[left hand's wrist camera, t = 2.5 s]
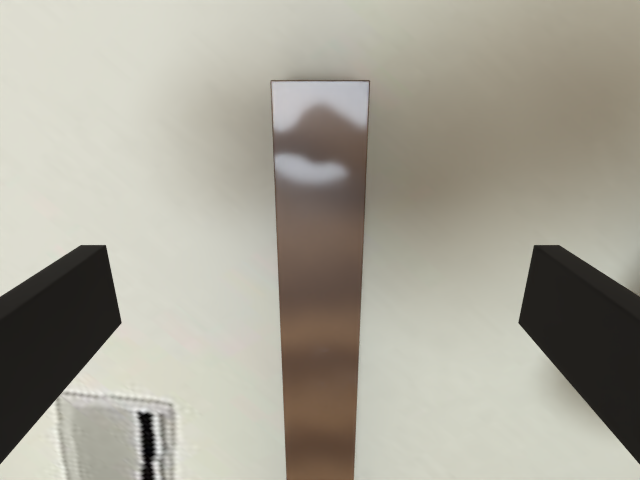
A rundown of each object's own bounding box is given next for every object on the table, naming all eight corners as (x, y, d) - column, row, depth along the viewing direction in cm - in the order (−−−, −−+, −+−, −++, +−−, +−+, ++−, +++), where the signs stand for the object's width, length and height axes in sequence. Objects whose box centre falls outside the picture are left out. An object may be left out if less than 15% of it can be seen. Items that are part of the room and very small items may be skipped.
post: (282, 83, 30) (270, 80, 22) (357, 83, 30) (370, 80, 22) (297, 559, 49) (293, 643, 41) (342, 559, 49) (346, 643, 41)
